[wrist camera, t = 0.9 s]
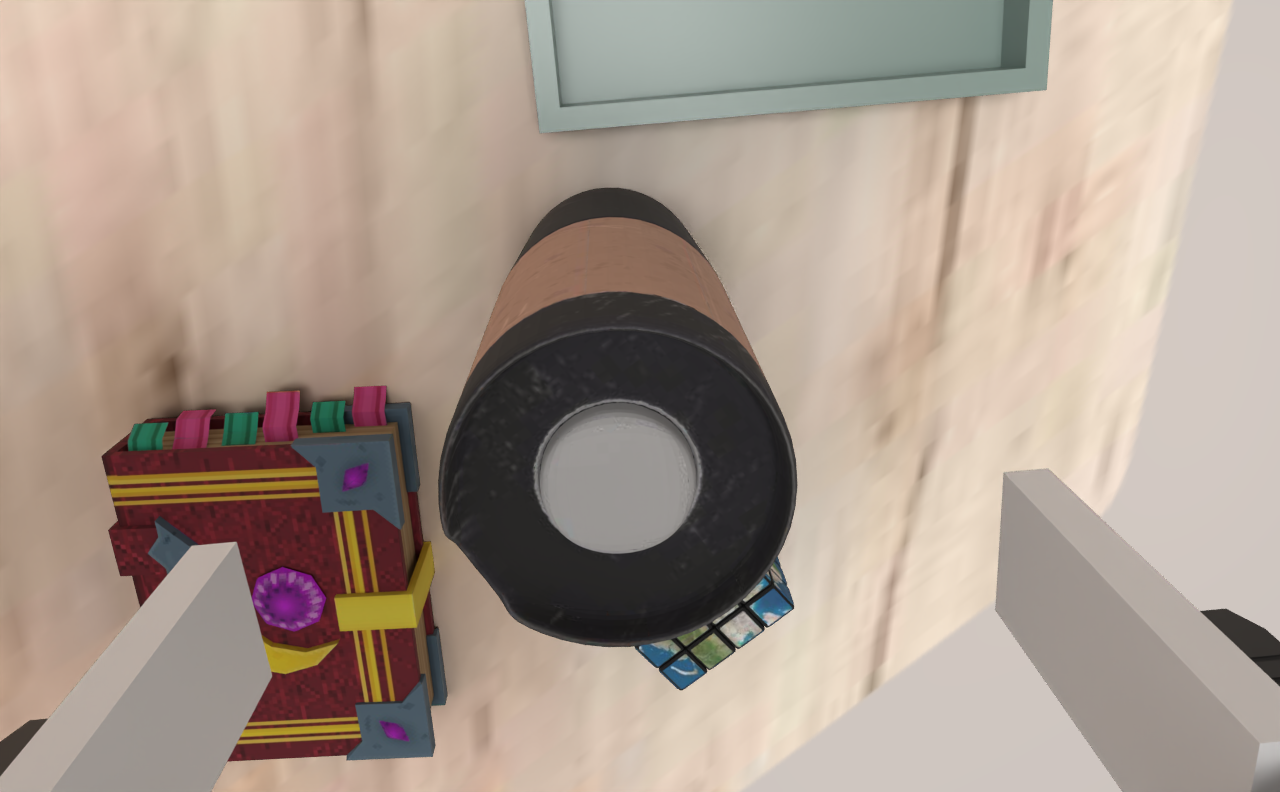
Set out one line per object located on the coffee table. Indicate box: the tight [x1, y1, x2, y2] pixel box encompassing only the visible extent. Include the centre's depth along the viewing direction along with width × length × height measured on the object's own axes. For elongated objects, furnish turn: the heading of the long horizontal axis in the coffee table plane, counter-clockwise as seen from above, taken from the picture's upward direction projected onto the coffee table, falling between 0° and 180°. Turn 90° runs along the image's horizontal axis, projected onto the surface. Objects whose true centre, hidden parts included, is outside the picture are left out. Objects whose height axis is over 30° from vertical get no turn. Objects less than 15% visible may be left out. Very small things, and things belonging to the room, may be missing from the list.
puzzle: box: [635, 556, 794, 690], centre depth 39 cm, size 6×6×6 cm
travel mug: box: [438, 188, 797, 647], centre depth 28 cm, size 8×8×20 cm
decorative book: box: [102, 386, 447, 761], centre depth 40 cm, size 11×16×5 cm
